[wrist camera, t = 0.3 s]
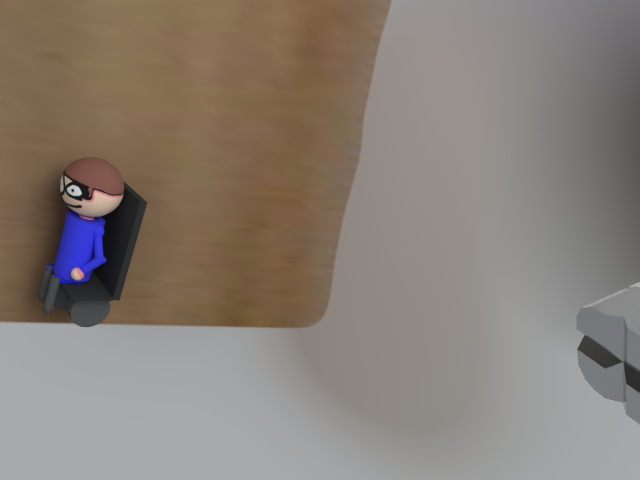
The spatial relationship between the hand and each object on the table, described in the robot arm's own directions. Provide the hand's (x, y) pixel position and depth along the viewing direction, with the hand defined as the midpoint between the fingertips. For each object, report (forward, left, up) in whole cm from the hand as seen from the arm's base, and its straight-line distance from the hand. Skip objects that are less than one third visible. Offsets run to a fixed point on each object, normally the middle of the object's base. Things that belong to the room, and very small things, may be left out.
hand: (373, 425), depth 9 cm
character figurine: (+10, -10, -47) cm, 49 cm away
